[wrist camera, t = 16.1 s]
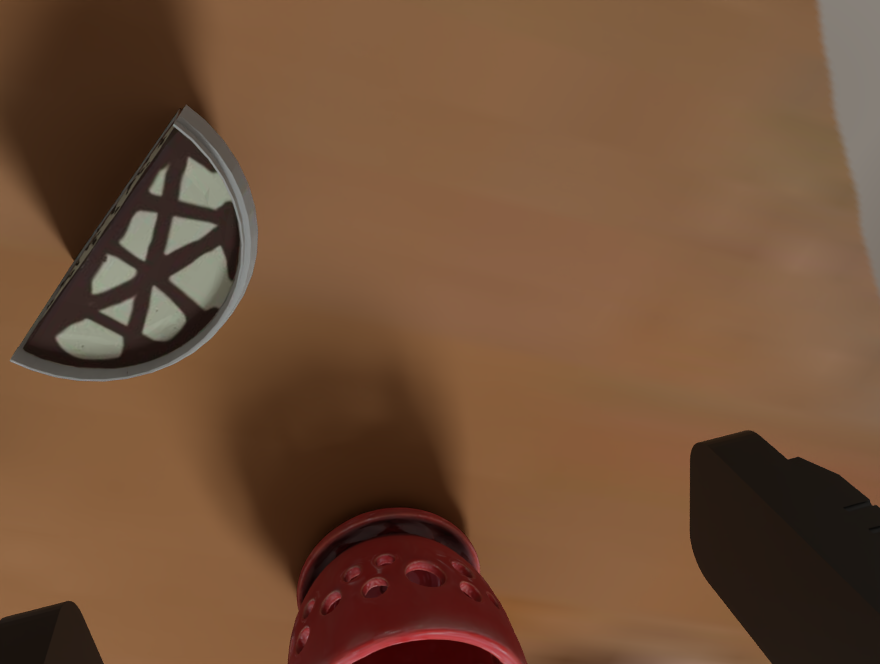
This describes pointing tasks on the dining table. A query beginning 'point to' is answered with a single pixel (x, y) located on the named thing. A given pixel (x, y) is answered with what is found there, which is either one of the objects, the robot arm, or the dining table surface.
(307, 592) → the plant pot
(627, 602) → the dining table surface
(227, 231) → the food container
